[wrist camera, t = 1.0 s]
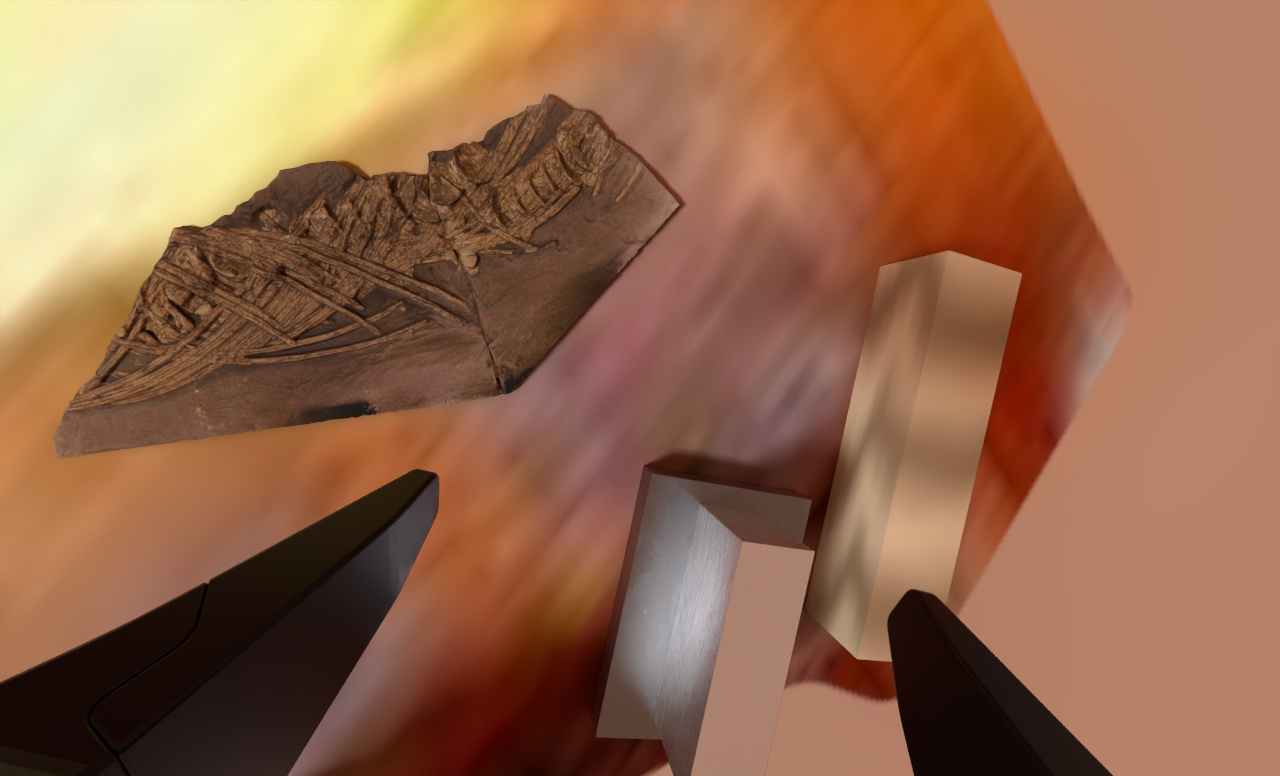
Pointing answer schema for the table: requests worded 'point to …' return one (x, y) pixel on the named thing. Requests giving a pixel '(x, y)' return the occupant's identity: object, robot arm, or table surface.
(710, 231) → the table surface
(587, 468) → the table surface
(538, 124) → the wooden fragment
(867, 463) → the birch rod
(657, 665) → the balance ridge
